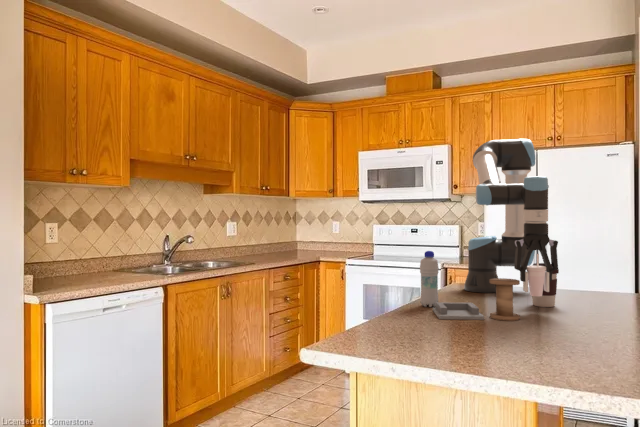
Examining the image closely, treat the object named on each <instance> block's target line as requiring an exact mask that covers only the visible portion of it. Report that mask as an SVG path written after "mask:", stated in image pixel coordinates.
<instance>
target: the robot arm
mask: <svg viewBox="0 0 640 427" xmlns="http://www.w3.org/2000/svg"><path fill="white" fill-rule="evenodd" d="M472 164H473V166H474V168H475V169H476V172H477V176H478V183H479V184H477V185H476V186H475V202H476V204H477V205H482V206H502V205H503V206H505V210H504V212H505V217H504V218H505V219H504V221H505V222H504V223H505V224H504V225H505V227H504V229H505V230H504V232H502V234H501V238H498V239H497V236H496V235H489V236H488V235H486V236H478V237H473V238H471V239H469V240H468V246H467V251H468V253H467V254H468V257H467V258H468V259H467V260H468V266H467V267H468V269H467V270H468V271H467V275H466V279H465V281H464V287H463V290H464V291H466V292H471V293H481V294H482V293H487V294H488V293H489V294H490V293H492V294H493V293H496V285H495V284H490V281H489V280H490V279H495V278H499V277H498V273H497V270H498V268H497V267H514V269H515V270H516V271H519V276H520V277H519V281H521V282H522V290H523V291H524V292H526V293H528V292H529V282H528V272H527V270H526V268H527V266H532V265H533V262H534V258H535V255H536V251H539V253H540V255H541V258H542V261H543V262H542V263H544V265H545V267H546V270H547V271H545V278H544V291H546V292H549V281H552V272H553V271H554V270H558V269H559V265H558V264H559V262H558V249H557V248H558V245H559V241H558V240H555V239H550V236H549V224H548V223H547V222H549V188H550V186H549V179H548V177H547V176H544V175H543V176H542V175H537V176H536V175H535V176H534V175H533V176H528V175H529V173H530V172H531V171H532V167H534V166H535V165H536V151H535V147H534V144H533V142H532V140H531V139H528V138H511V139H509V138H508V139H493V140H487V141H486V142H484V143H482V144H481V145H480V146H478V147H477V149H476V150H475V151H474V153H473V156H472ZM498 168H501V173H502V174H503V175H504V178H505V179H504V180H505V182H504V183H502V182H501V178H500V175H499V170H498ZM547 245H549V251H550V258H549V256H548V253H547V252H548V251H547V248H546V246H547ZM551 266H552V267H551Z"/></svg>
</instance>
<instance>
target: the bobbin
mask: <svg viewBox="0 0 640 427" xmlns="http://www.w3.org/2000/svg"><path fill="white" fill-rule="evenodd" d="M489 281H490V284H495V285H496V292H495V294H496V296H495V300H496V301H495V308H496V310H495V311H492V312H490V313H489V318H490V319H492V320H497V321H504V322H513V321H514V322H515V321H520V319H521V315H520V314H519V313H515V312H514V286H519V285H520V281H521V280H520V279H516V278H504V277H502V278H501V277H500V278H499V277H498V278H495V279H490V280H489Z"/></svg>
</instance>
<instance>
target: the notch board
mask: <svg viewBox="0 0 640 427" xmlns="http://www.w3.org/2000/svg"><path fill="white" fill-rule="evenodd" d="M432 312H433V313H434V314H435V316H436V317H437V318H438V320H470V321H471V320H481V321H483V320H485V319H486V317H485V315H484V314H482V313H481V312H480V308H479V307H478V306H477V305H476V304H474V303H473V302H453V301H451V302H447V301H446V302H445V301H444V302H443V301H441V302H440V301H438V302H436V307H432Z"/></svg>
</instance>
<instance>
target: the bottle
mask: <svg viewBox="0 0 640 427" xmlns="http://www.w3.org/2000/svg"><path fill="white" fill-rule="evenodd" d="M434 257H435V253H434V251H432V250H426V251H425V252H424V258H421V260H420V264H419V273H420V305H421V306H422V307H424V308H427V306H428V307H429V308H436V302H439V290H438V289H439V286H438V285H439V284H438V283H439V278H438V277H439V276H438V275H439V263H438V259H436V258H434Z"/></svg>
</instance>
